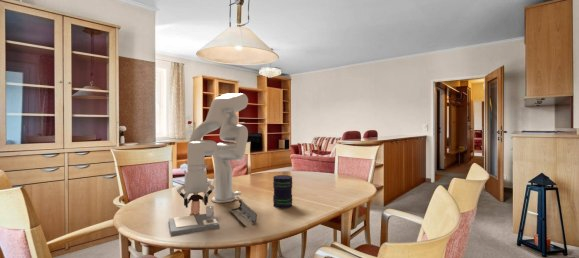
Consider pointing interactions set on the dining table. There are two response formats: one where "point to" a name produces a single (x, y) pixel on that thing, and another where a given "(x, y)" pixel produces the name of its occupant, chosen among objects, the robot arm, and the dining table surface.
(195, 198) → the grandmother figurine
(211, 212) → the pin
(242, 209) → the model building
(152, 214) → the dining table surface
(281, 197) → the storage jar
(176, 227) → the board
